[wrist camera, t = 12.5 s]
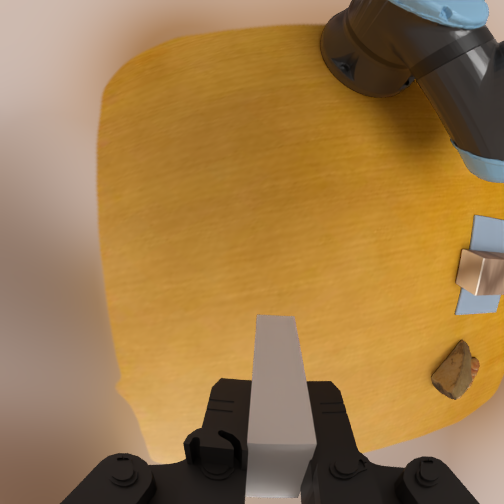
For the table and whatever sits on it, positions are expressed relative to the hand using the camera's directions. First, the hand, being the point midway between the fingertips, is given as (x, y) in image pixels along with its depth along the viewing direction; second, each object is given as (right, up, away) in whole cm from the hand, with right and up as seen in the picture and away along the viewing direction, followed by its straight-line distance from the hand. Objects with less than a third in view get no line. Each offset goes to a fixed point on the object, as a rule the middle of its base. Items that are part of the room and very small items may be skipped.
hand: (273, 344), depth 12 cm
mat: (+42, +1, +29) cm, 51 cm away
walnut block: (+34, +1, +26) cm, 43 cm away
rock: (+38, -18, +34) cm, 54 cm away
